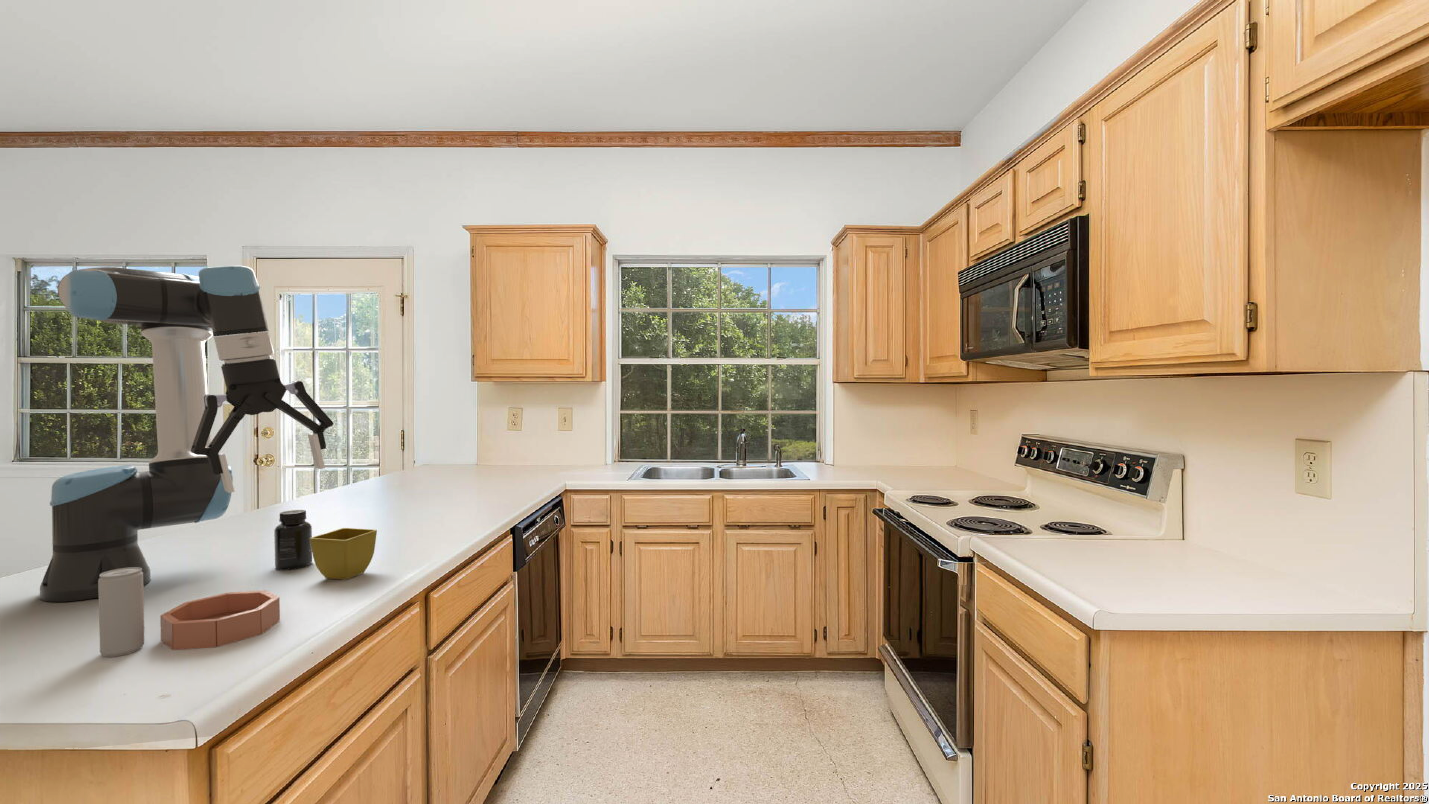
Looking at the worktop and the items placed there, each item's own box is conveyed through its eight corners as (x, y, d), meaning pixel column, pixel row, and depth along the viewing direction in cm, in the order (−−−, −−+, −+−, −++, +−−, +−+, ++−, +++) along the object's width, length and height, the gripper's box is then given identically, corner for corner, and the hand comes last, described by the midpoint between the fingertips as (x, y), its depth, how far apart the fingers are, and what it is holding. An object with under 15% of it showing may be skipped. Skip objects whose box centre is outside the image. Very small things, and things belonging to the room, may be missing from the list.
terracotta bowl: (141, 652, 91) (140, 625, 91) (201, 617, 104) (200, 594, 104) (246, 644, 93) (246, 619, 93) (292, 611, 107) (291, 589, 107)
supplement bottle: (319, 563, 136) (319, 509, 136) (289, 571, 130) (288, 516, 129) (297, 560, 138) (296, 507, 138) (267, 568, 132) (266, 513, 132)
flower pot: (346, 584, 122) (345, 539, 121) (309, 581, 123) (308, 537, 123) (378, 571, 130) (378, 529, 130) (343, 568, 132) (343, 527, 132)
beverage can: (119, 644, 93) (118, 567, 93) (153, 643, 94) (151, 566, 93) (90, 658, 88) (88, 577, 88) (126, 657, 89) (124, 576, 89)
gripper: (155, 372, 91) (191, 506, 95) (336, 349, 110) (361, 461, 114) (146, 371, 96) (181, 498, 100) (321, 349, 115) (345, 457, 119)
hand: (277, 479), depth 107 cm, fingers open, 13 cm apart
